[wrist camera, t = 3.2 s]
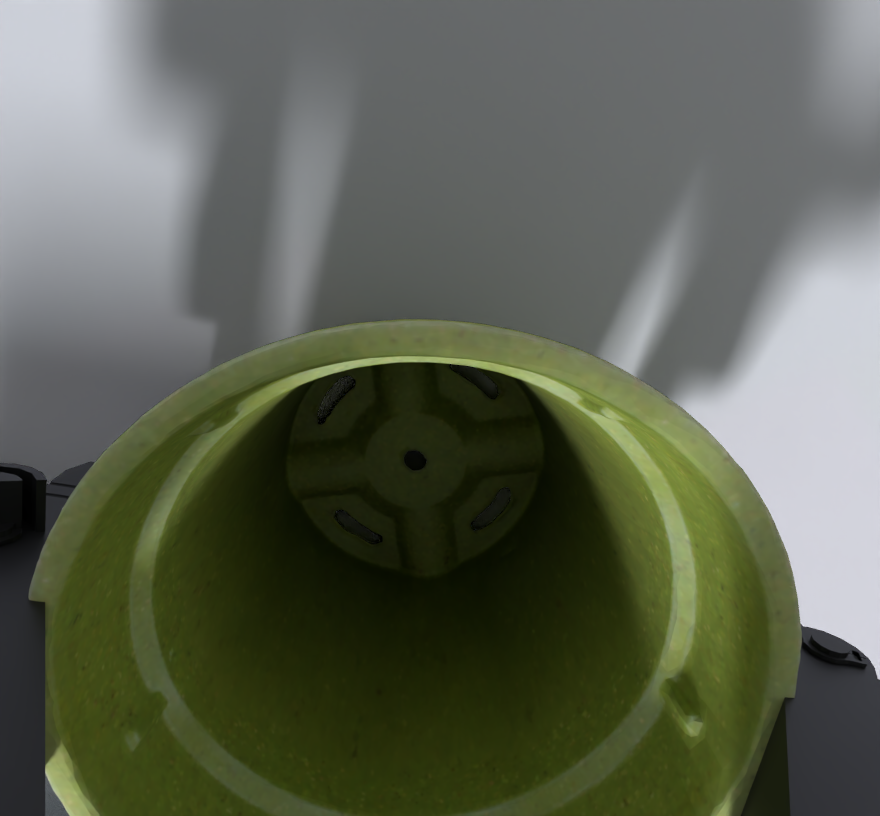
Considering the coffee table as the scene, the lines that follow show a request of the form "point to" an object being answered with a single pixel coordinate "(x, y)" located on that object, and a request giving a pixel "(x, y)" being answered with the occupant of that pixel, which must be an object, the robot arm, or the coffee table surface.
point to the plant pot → (414, 593)
